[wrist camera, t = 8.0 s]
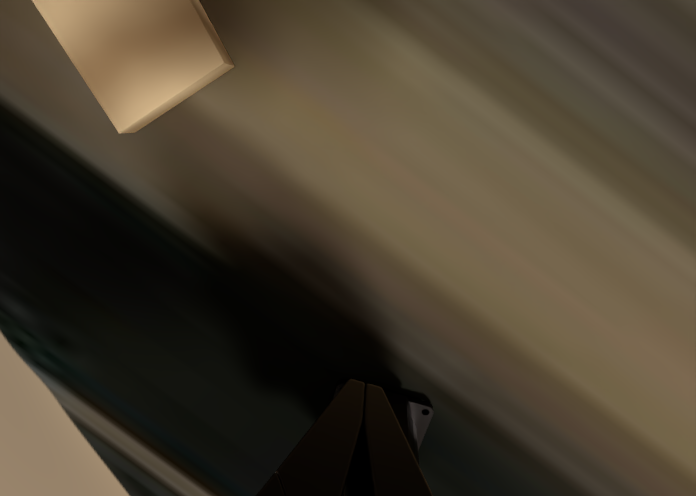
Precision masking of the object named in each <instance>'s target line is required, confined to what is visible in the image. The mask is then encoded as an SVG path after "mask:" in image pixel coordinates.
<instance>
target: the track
mask: <svg viewBox="0 0 696 496" xmlns="http://www.w3.org/2000/svg"><path fill="white" fill-rule="evenodd" d="M32 1H33V3H34V4H35V6H36V7H37V9H38V10H39V12H40V13H41V15H42V16H43V18H44V19H45V21H46V22H47V24H48V26H49V27H50V29H51V30H52V32H53V33H54V35H55V36H56V38H57V39H58V41H59V42H60V44H61V45H62V47H63V48H64V50H65V51H66V53H67V54H68V56H69V58H70V59H71V61H72V62H73V64H74V65H75V67H76V68H77V70H78V71H79V73H80V74H81V76H82V77H83V79H84V80H85V82H86V83H87V85H88V87H89V88H90V90H91V91H92V93H93V94H94V96H95V97H96V99H97V100H98V102H99V103H100V105H101V106H102V108H103V109H104V111H105V112H106V114H107V116H108V117H109V119H110V120H111V122H112V123H113V125H114V126H115V128H116V129H117V131H118V132H119V133H135V132H136V131H138V130H140V129H141V128H143V127H144V126H146V125H147V124H149V123H150V122H152V121H153V120H155V119H156V118H158V117H159V116H161V115H162V114H164V113H165V112H167V111H168V110H170V109H171V108H173V107H174V106H176V105H177V104H179V103H181V102H182V101H184V100H185V99H187V98H188V97H190V96H191V95H193V94H194V93H196V92H197V91H199V90H200V89H202V88H203V87H205V86H206V85H208V84H209V83H211V82H212V81H214V80H215V79H217V78H218V77H220V76H222V75H223V74H225V73H226V72H228V71H229V70H231V69H232V68H234V67H235V66H234V64H233V62H232V60H231V58H230V56H229V55H228V53H227V51H226V49H225V47H224V45H223V44H222V42H221V40H220V38H219V36H218V34H217V32H216V31H215V29H214V27H213V25H212V23H211V21H210V20H209V18H208V16H207V14H206V12H205V10H204V8H203V7H202V5H201V3H200V1H199V0H32Z"/></svg>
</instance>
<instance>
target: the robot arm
mask: <svg viewBox="0 0 696 496" xmlns="http://www.w3.org/2000/svg"><path fill="white" fill-rule="evenodd" d="M423 409H427V410H426V411H424V410H423ZM432 416H433V407H432V405H431V404H430V403H429V402H426V401H422V400H419V399H415V398H411V397H408V396H404V395H400V394H397V393H393V392H389V391H386V390H383V389H382V388H381V387H379V386H376V385H372V384H366V385H365V384H364V382H361V381H357V380H354V379H349V380H340V381H339V382H338V383H337V387H336V390H335V394H334V398H333V400H332V401H331V402H330V404H329V405H328V406H327V408H326V409H325V410H324V411H323V413H322V414H321V415H320V416H319V418H318V419H317V420H316V421H315V423H314V424H313V425H312V426H311V428H310V429H309V430H308V431H307V433H306V434H305V435H304V436H303V438H302V439H301V440H300V441H299V443H298V444H297V445H296V447H295V448H294V449H293V450H292V452H291V453H290V454H289V455H288V457H287V458H286V459H285V460H284V462H283V463H282V464H281V465H280V467H279V468H278V469H277V470H276V473H274V474H273V475H272V476H271V478H270V479H269V480H268V481H267V483H266V484H265V485H264V486H263V488H262V489H261V490H260V491H259V492H258V494H257V495H256V496H433V495H432V493H431V490H430V488H429V486H428V484H427V482H426V480H425V478H424V476H423V473H422V471H421V469H420V467H419V458H418V450H419V447H420V445H421V442H422V440H423V437H424V435H425V433H426V430H427V428H428V425H429V423H430V420H431V418H432Z"/></svg>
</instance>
